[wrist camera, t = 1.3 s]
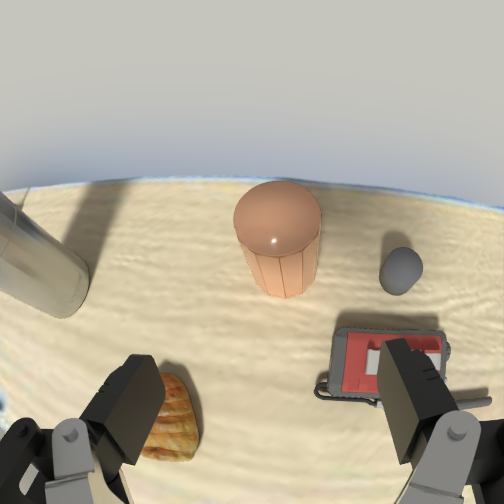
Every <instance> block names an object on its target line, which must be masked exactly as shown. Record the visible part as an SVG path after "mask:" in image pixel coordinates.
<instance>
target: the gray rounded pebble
mask: <svg viewBox="0 0 504 504" xmlns="http://www.w3.org/2000/svg"><path fill="white" fill-rule="evenodd" d="M422 272H423V263H422V260H421V258H420V257H419V255H418V254H417V253H416V252H415V251H413V250H412V249H410V248H406V247H400V248H397V249H395V250H393V251H392V252H391V254H390V255H389V257H388V259H387V260H386V262H385V264H384V265H383V267H382V269H381V271H380V274H379V280H380V284H381V286H382V287H383V289H384V290H385V291H386V292H388V293H389V294H392V295H402V294H404V293H406V292H407V291H408V290H409V289H410V288H411V287H412V286H413V285H414V284H415V283H416V282H417V281H418V279H419V278H420V277H421V275H422Z"/></svg>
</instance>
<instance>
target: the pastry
mask: <svg viewBox="0 0 504 504" xmlns="http://www.w3.org/2000/svg"><path fill="white" fill-rule="evenodd" d="M160 376H161V378H162V380H163V383H164V385H165V390H166V396H165V400H164V403H163V405H162V407H161V409H160V411H159V414H158V416H157V418H156V420H155V422H154V425H153V427H152V429H151V431H150V433H149V435H148V438H147V440H146V442H145V444H144V447H143V449H142V451H141V453H140V455H142V456H143V457H146V458H149V459H153V460H157V461H170V462H184V461H190V460H191V459H192V458H193V457H194V455H195V452H196V448H197V446H198V443H199V436H198V428H197V424H196V419H195V415H194V411H193V408H192V405H191V402H190V398H189V395H188V392H187V389H186V387H185V386H184V385H183V383H182V381H181V380H180V379H179V378H178V377H177V376H175V375H173V374H168V373H160Z"/></svg>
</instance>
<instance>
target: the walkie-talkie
mask: <svg viewBox="0 0 504 504" xmlns="http://www.w3.org/2000/svg"><path fill="white" fill-rule="evenodd" d="M397 338H404V339H405V340H406V342H407V343H408V345H409V347H410V349H411V351H412V350H417V349H419V350H420V351H422V352H423V353H425V354H426V355H427V356H429V357H430V359H431V360H432V362H433V364H434V366H435V367H436V368H435V369H437V371H438V372H439V374H440V378H442V379H443V381H444V383H445V384H446V383H447V377H445V372H446V361H447V360H448V359H449V357H450V353H451V348H450V345H449V343H448V342H447V339H446V334H445V333H444V332H443V331H436V330H428V331H421V330H402V331H400V330H397V331H394V330H389V329H387V330H383V329H381V330H378V329H375V330H373V329H367V328H365V329H361V328H359V329H356V328H355V327H354V328H350V327H347V328H344V327H342V328H341V329H339V330H338V331H337V332H335V334H334V336H333V338H332V347H331V356H330V364H329V372H328V380H327V382H323V383H319V384H318V385H316V387H315V389H314V394H315V396H316V397H317V398H319V399H322V400H333V401H352V402H366V403H368V404H369V405H373V406H374V407H375V408H382V409H383V410H384V408H383V405H382V402H381V399H380V395H379V392H378V388H377V370H378V363H379V355H380V346H381V343H382V341H386V340H391V339H397ZM323 386H327V387H326V390H327V391H328V392H329V393H330V394H331V395H332V396H323V395H320V394H319V393H318V390H319V388H320V387H323ZM336 396H337V397H336ZM354 397H355V398H354ZM365 398H375V399H377V398H378V400H377V401H375V402H373V401H371V400H369V399H365ZM455 403H456V405H457V406H458V408H459V410H463V409H470V408H477V407H483V406H489V405H490V404H491V403H492V398H491V397H482V398H475V399H467V400H458V401H455Z"/></svg>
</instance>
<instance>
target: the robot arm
mask: <svg viewBox="0 0 504 504" xmlns="http://www.w3.org/2000/svg"><path fill="white" fill-rule="evenodd" d="M88 285H89V272H88V268H87V265H86V263H85V262H84V261H83V260H82V259H81V258H79V257H78V256H77V255H75V254H74V253H73V252H72V251H70V250H69V249H68V248H66V247H65V246H64V245H63V244H61V243H60V242H59V241H58V240H56V239H55V238H54V237H53V236H51V235H50V234H49V233H48V232H46V231H45V230H44V229H43V228H42V227H40V226H39V225H38V224H37V223H36V222H34V221H33V220H32V219H31V218H30V217H29V216H27V215H26V214H25V213H24V212H23V211H22V210H21V209H19V208H18V207H17V206H16V205H15V204H14V203H12V202H11V201H10V200H9V199H8V198H7V197H6V196H5V195H4V194H3V193H2V192H1V191H0V290H1V291H2V292H4V293H6V294H8V295H10V296H12V297H14V298H16V299H18V300H20V301H22V302H24V303H26V304H28V305H30V306H32V307H34V308H36V309H38V310H40V311H42V312H44V313H46V314H48V315H51V316H53V317H55V318H59V319H62V318H67V317H69V316H71V315H72V314H73V313H75V312H76V310H77V309H78V308H79V307H80V305H81V304H82V302H83V300H84V298H85V296H86V293H87V290H88ZM435 368H436V367H435V366H434V364H433V362H432V360H431V359H430V357H429V356H427V355H426V354H425V353H423V352H422V351H420V350H419V349H417V350H412V351H411V349H410V347H409V345H408V343H407V342H406V340H405V339H404V338H397V339H391V340H386V341H382V343H381V346H380V355H379V363H378V370H377V388H378V392H379V395H380V399H381V402H382V405H383V408H384V411H385V415H386V418H387V421H388V424H389V428H390V431H391V435H392V438H393V442H394V445H395V449H396V452H397V456H398V460H399V464H400V465H402V464H405V463H409V462H411V465H412V469H413V470H412V472H411V474H410V476H409V478H408V480H407V481H406V483H405V485H404V487H403V489H402V490H401V492H400V494H399V496H398V497H397V499H396V501H395V502H394V504H463V503H464V497H462V491H463V488H464V486H465V485H471V486H472V489H473V493H474V497H475V501H476V504H504V419H499V420H490V421H478V420H477V418H476V417H475V416H474V415H472V414H471V413H468V412H466V411H460V410H459V408H458V406H457V405H456V403H455V401H454V399H453V397H452V395H451V393H450V392H449V390H448V388H447V386H446V385H445V383H444V381H443V379H442V378H440V374H439V372H438V371H437V369H435ZM98 391H99V392H97V393H96V394H95V396H94V397H93V399H92V400H91V402H90V403H89V404H88V406H87V407H86V409H85V410H84V412H83V413H82V414H81V416H80V417H79V419H77V418H70V419H66V420H64V421H62V422H61V423H59V424H58V425H57V426H56V427H55V429H40V428H39V426H38V425H37V424H36V422H35V421H34V420H33V419H31V418H27V417H26V418H21V419H19V420H17V421H16V422H14V423H13V424H12V426H11V427H10V428H9V430H8V431H7V432H6V434H5V435H4V437H3V438H2V439H1V441H0V504H134V502H133V499H132V496H131V494H130V491H129V488H128V485H127V483H126V480H125V477H124V474H123V471H122V470H121V468H120V467H121V465H122V463H126V464H130V465H134V466H135V464H136V462H137V460H138V458H139V455H140V453H141V451H142V449H143V447H144V444H145V442H146V440H147V438H148V435H149V433H150V431H151V429H152V427H153V425H154V422H155V420H156V418H157V416H158V414H159V411H160V409H161V407H162V405H163V403H164V400H165V396H166V390H165V385H164V383H163V380H162V378H161V376H160V373H159V371H158V368H157V366H156V363H155V361H154V358H153V357H152V356H151V355H140V354H131V355H130V356H129V357H128V359H127V360H126V361H125V363H124V364H123V366H120V367H119V368H117V369H116V370H115V371H113V372H112V373H111V374H110V375H109V376H108V378H107V379H106V380H105V382H104V385H102V386H101V387H100V389H99V390H98ZM30 463H32V464H33V466H34V467H35V468H36V469H37V470H38V471H39V472H38V474H37V476H36V477H35V479H34V481H33V483H32V485H31V486H30V488H29V490H28V492H27V494H26V495H23V494H22V492H21V491H20V488H19V482H20V480H21V478H22V477H23V475H24V473H25V472H26V470H27V468H28V467H29V465H30Z"/></svg>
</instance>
